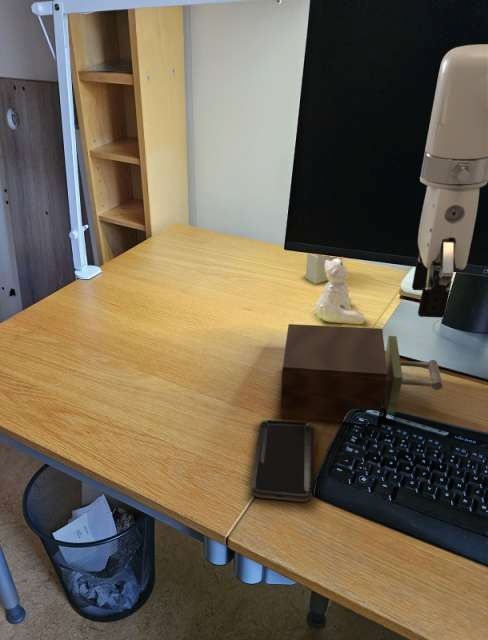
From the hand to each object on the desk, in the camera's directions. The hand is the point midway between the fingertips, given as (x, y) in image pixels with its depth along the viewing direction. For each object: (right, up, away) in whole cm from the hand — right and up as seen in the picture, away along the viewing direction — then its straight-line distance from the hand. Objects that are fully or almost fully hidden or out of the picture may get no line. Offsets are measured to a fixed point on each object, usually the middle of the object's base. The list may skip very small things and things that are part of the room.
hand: (427, 301), depth 77 cm
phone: (-19, -22, +2) cm, 30 cm away
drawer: (-5, -13, +11) cm, 18 cm away
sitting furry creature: (-4, +3, +34) cm, 34 cm away
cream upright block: (-3, +14, +48) cm, 50 cm away
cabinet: (-10, -13, +13) cm, 21 cm away
